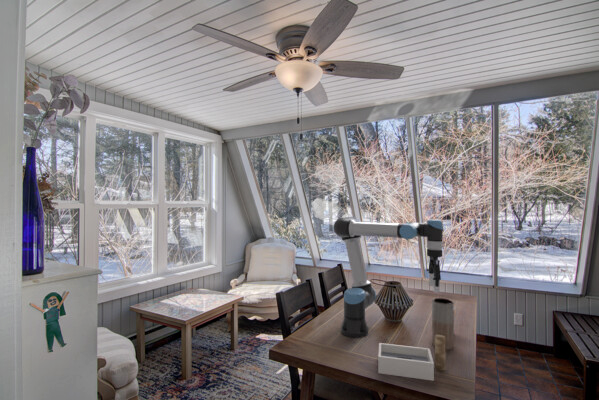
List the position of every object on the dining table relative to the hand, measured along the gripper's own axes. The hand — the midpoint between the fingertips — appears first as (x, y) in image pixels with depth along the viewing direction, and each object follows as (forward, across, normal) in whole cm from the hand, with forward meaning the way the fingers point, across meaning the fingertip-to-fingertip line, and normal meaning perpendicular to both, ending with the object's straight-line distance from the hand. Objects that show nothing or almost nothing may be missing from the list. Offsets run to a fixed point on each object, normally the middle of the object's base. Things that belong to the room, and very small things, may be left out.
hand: (433, 289), depth 170 cm
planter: (+27, -6, -4) cm, 28 cm away
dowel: (+27, -31, +3) cm, 41 cm away
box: (+27, -34, +18) cm, 47 cm away
